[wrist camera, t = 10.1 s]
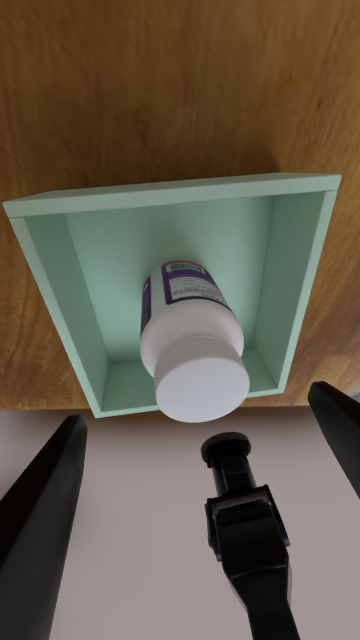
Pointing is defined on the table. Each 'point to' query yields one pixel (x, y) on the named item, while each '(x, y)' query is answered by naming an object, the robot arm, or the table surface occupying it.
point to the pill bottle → (191, 343)
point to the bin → (168, 243)
